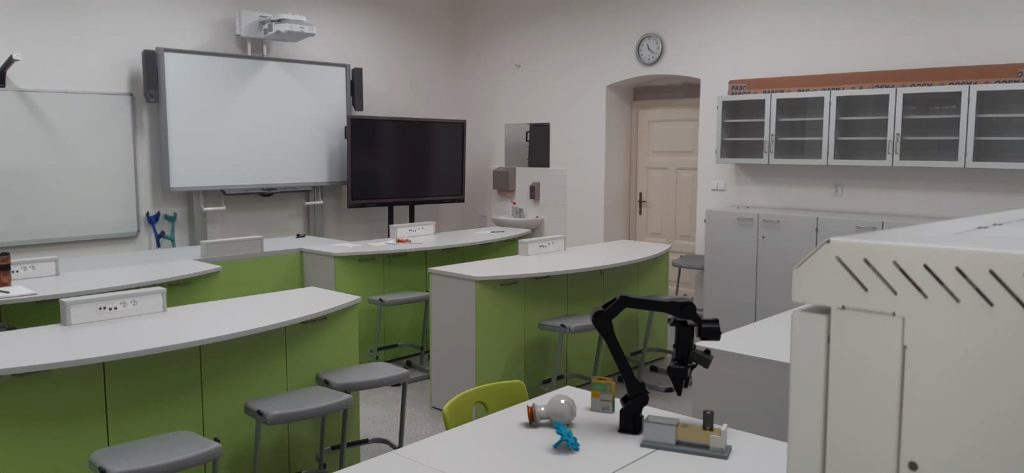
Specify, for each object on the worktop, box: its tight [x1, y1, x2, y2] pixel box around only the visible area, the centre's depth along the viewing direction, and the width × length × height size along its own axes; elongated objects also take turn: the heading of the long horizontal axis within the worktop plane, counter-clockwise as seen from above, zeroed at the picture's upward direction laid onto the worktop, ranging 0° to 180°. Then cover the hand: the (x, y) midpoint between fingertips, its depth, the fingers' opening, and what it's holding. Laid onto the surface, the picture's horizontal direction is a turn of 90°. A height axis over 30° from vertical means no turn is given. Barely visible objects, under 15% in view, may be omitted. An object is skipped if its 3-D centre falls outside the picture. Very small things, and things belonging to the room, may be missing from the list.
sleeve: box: [643, 414, 681, 446], centre depth 226 cm, size 9×5×6 cm, turn 67°
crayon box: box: [590, 375, 616, 415], centre depth 256 cm, size 7×3×12 cm, turn 66°
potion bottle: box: [526, 393, 577, 426], centre depth 242 cm, size 9×10×15 cm
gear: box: [552, 421, 581, 452], centre depth 222 cm, size 11×6×10 cm
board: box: [639, 438, 733, 461], centre depth 223 cm, size 24×9×1 cm, turn 67°
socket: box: [710, 423, 728, 453], centre depth 220 cm, size 4×6×6 cm, turn 157°
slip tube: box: [676, 409, 721, 444], centre depth 222 cm, size 14×4×9 cm, turn 67°
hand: (682, 392), depth 236 cm, fingers open, 9 cm apart
